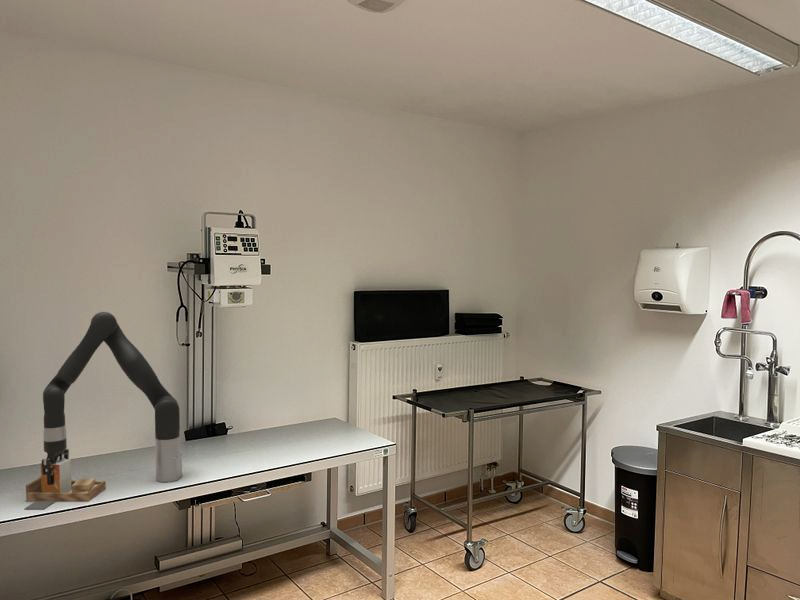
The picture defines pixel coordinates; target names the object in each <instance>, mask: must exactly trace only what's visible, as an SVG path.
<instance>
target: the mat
mask: <svg viewBox="0 0 800 600" xmlns="http://www.w3.org/2000/svg"><path fill="white" fill-rule="evenodd" d="M55 503H56V501H33V502H32V503H31V504H29V505H28V506H26V507H25V508H24V510H25V511H26V510H30V511H31V510H32V511H35V510H39V511H40V510H41V511H42V510H43V511H44V510H46V509H47V508H49V507H51V506H52V505H53V504H55Z"/></svg>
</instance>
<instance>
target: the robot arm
mask: <svg viewBox="0 0 800 600" xmlns="http://www.w3.org/2000/svg"><path fill="white" fill-rule="evenodd" d="M103 342H104V343H105V344H106V345H107V347H108V348H109V349H110V351H111V352H112V355H113V356H114V358H115V360H116V362H117V364H118V365H119V366H120V369H121V370H122V371H123V373H124V374H125V376H127V378H128V379H129V380H130V381H131V382H132V383H133V384H134V386H135V387H137V388H138V389H139V390H140V391H141V392H142V393H143V394H144V395H145V397H146V398H147V399H148V401H149V402H150V404H151V406H152V407H153V409H154V431H155V433H154V434H155V437H154V438H155V479H156V480H155V481H157V482H160V483H170V482H176V481H178V480H179V479H180V478H181V477H182V476H183V457H182V455H183V454H182V453H181V450H180V449H181V448H180V446H181V445H180V443H181V442H180V441H181V440H180V439H181V438H180V436H181V435H180V429H181V427H180V422H181V421H180V419H181V417H180V405H179V403H178V400H176V399H175V397H173V396H172V394H171V393H170V392H169V391H168V390H167V389H166V387H164V385H163V384H162V383H161V381H160V380H159V377H158V375H157V373H156V372H155V371H154V369H153V368H152V365H150V363H149V362H148V361H147V359H146V358H145V356H144V355H143V354H142V353H141V352H140V350H139V349H138V348H137V347H136V346H135V345H134V343H132V341H130V339H128V338H127V336H126V334H125V333H124V332H123V330H122V328H121V327H120V324H119V323H118V321H117V319H116V317H115V316H114V315H113V314H112V313H110V312H107V311H100V312H98V313H96V314H94V315H93V316H92V318H91V320H90V325H89V327H88V329H87V331H86V332H85V335H84V336H83V338H82V340H81V341H80V342H79V344H78V345H77V346H76V347H75V349H74V350H73V351H72V352H71V354H70V355H69V356H68V357H67V359H66V360H65V361H64V363H63V364H62V365H61V367H60V368H59V370H58V371H57V373H56V374H55V375H54V377H53V378H52V379H51V380H50V382H49V383H48V384H47V385H46V387H45V388H44V390H43V392H42V401H43V402H42V403H43V413H44V414H43V435H42V436H43V438H42V439H43V452H45V453H46V455H47V456H46V458H43V459H42V460H41V463H42V473H43V475H47V484H48V485H53V484H54V475H53V474H54V468H55V467H54V466H50V464H56V463H58V461H60V460H63V459H69V457H70V453H69V452H70V451H69V450H70V449H69V448H67V447H68V445H67V428H66V414H65V401H66V400H65V399H66V398H65V395H66V393H67V391H68V390H69V389H70V387H71V386H72V384H74V383H75V382H76V381H77V380H78V378H79V377H80V376H81V374H82V372H83V371H84V369H86V367H87V365H88V364H89V362H90V360H91V359H92V357H93V355H94V354H95V352H96V351H97V350H98V348H99V347H100V346H101V345H102V343H103ZM51 468H52V470H51ZM45 469H47V470H45Z"/></svg>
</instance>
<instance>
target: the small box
mask: <svg viewBox="0 0 800 600" xmlns="http://www.w3.org/2000/svg"><path fill="white" fill-rule="evenodd" d="M50 466H54V467H55V468H54V474H53V475H54V484H53V485H48V484H47V475H43V473H42V462H41V463H40V477H41V492H58V493H69V492H70V491H72V487H71V481H72V459H63V460H60V461H58V463H56V464H50ZM45 470H47V469H45ZM51 470H52V468H51Z"/></svg>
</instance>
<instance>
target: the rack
mask: <svg viewBox="0 0 800 600" xmlns="http://www.w3.org/2000/svg"><path fill="white" fill-rule="evenodd" d="M76 481H77V480H71V487H72V485H73V484H74V483H75V482H76ZM106 482H107V481H105V480H95V485H97V486H96V487H94V488H93V489H91V490H90V491H88V492H87V493H58V492H41V476H40V477H38V478H36V479H34V480H33V481H31V482H29V483H27V484H26V485H25V498H26V500H25V502H35V501H55V502H61V503H62V502H68V503H69V502H70V503H71V502H74V503H76V502H81V503H82V502H83V503H84V502H86V503H87V502H90V501H91V500H93V499H94V498H95V497H97V496H98V495H99V494H101V493H102V492H104V491H105V490H106V489H107V483H106Z"/></svg>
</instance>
